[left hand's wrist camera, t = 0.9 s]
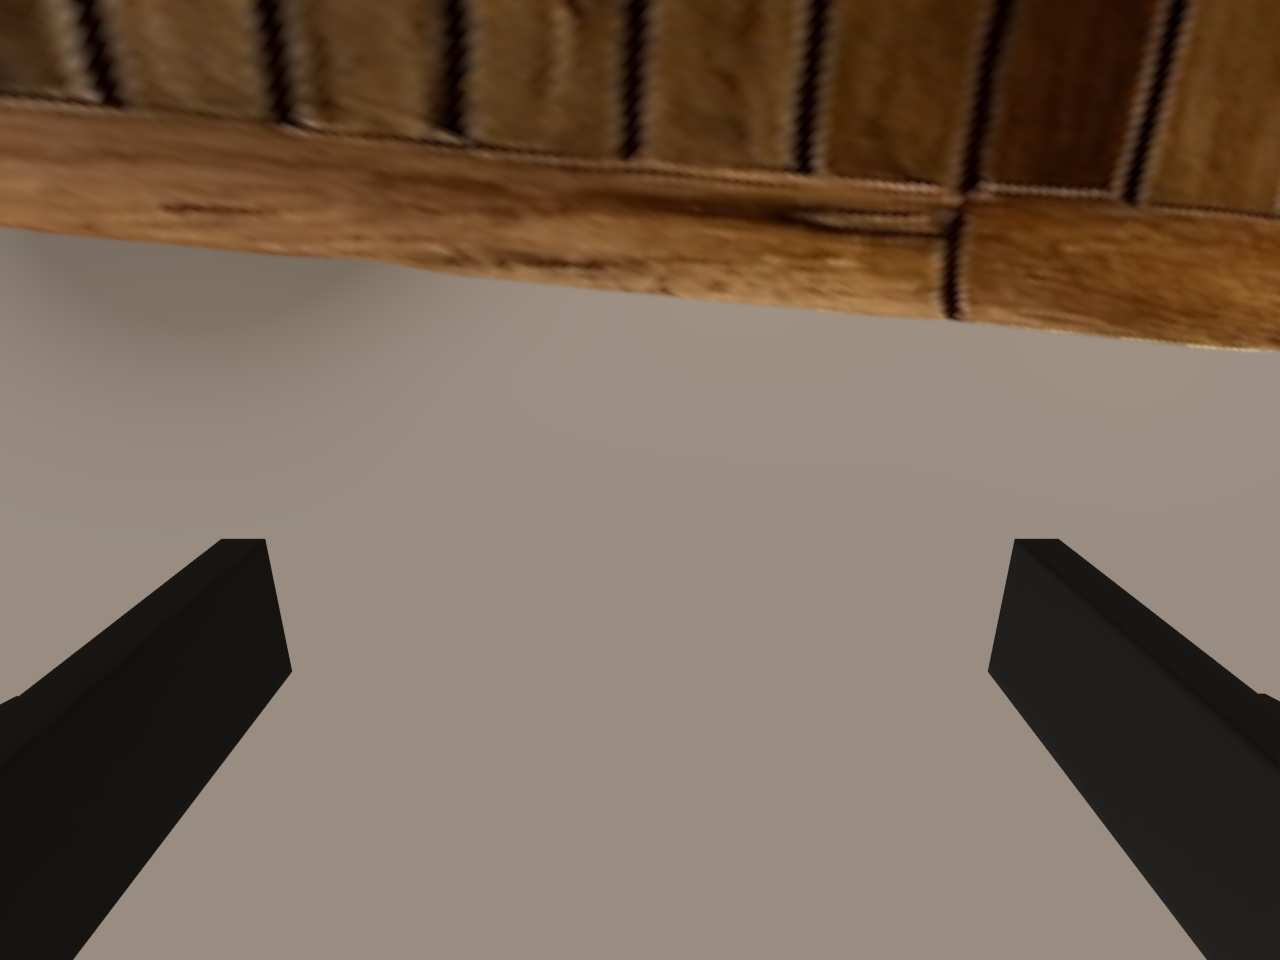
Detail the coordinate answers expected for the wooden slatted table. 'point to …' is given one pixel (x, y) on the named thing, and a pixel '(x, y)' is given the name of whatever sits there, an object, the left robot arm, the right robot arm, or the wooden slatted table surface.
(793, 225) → the wooden slatted table surface
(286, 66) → the wooden slatted table surface
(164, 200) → the wooden slatted table surface
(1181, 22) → the wooden slatted table surface
